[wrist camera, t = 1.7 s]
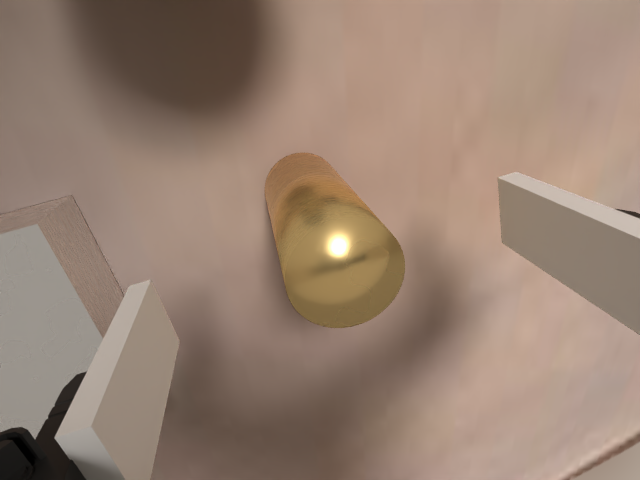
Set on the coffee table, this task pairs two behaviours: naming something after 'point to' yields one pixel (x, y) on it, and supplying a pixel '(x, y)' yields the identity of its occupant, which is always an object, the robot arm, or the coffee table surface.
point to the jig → (48, 307)
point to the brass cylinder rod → (330, 244)
